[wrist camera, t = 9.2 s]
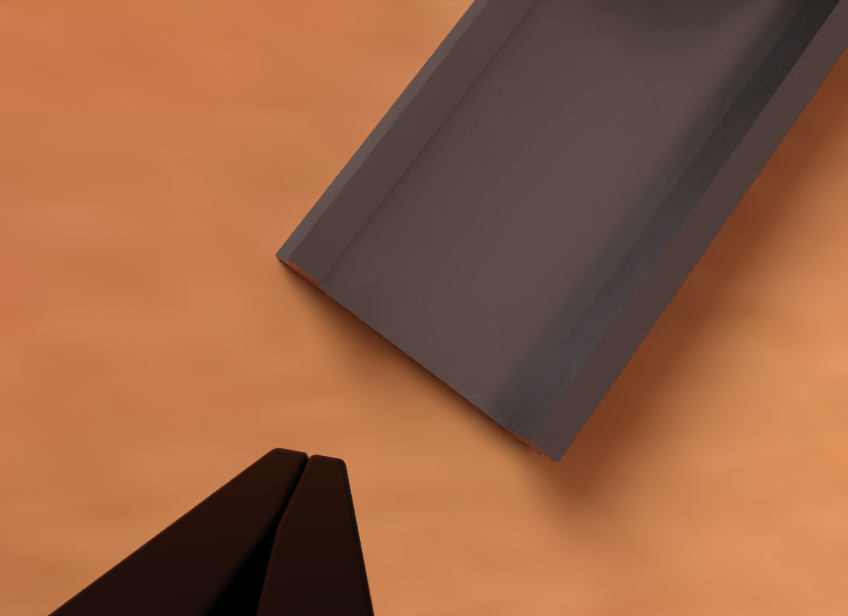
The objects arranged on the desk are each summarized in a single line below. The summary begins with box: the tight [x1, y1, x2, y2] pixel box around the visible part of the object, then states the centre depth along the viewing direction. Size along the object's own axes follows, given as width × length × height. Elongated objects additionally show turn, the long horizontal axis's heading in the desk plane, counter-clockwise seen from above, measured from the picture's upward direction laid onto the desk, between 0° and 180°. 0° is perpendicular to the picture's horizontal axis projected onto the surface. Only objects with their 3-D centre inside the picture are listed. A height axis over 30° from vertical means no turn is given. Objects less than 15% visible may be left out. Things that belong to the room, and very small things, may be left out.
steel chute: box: [276, 0, 848, 462], centre depth 21 cm, size 24×10×4 cm, turn 143°
